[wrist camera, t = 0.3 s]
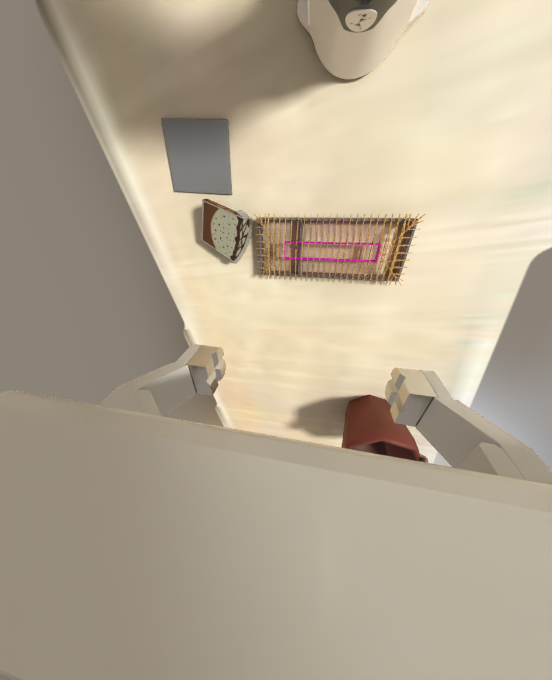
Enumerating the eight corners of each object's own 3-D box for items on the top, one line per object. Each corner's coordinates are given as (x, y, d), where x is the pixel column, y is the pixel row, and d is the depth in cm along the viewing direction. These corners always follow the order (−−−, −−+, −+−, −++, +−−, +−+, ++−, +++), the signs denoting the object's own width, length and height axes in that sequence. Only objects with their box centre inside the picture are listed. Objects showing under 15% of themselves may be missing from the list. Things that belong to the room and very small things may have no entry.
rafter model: (260, 274, 57) (254, 281, 52) (257, 213, 49) (250, 214, 44) (397, 281, 52) (405, 289, 46) (418, 213, 44) (431, 214, 39)
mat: (163, 119, 43) (161, 118, 42) (227, 120, 41) (226, 119, 40) (175, 191, 49) (174, 191, 49) (232, 194, 48) (231, 194, 47)
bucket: (336, 427, 86) (340, 497, 65) (332, 389, 75) (336, 459, 54) (402, 429, 79) (430, 508, 59) (409, 388, 68) (446, 467, 48)
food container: (215, 236, 56) (247, 255, 56) (201, 245, 52) (235, 265, 52) (219, 185, 46) (258, 207, 46) (202, 192, 42) (245, 216, 42)
